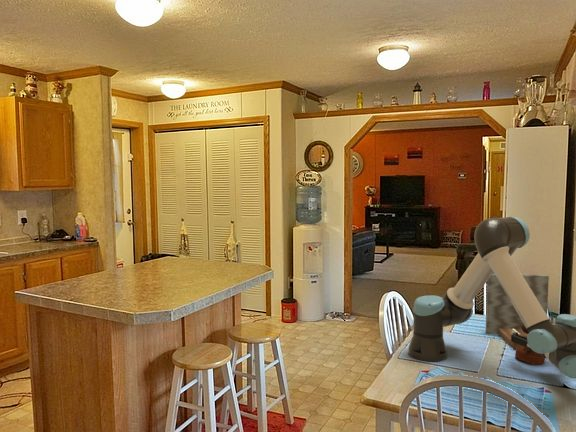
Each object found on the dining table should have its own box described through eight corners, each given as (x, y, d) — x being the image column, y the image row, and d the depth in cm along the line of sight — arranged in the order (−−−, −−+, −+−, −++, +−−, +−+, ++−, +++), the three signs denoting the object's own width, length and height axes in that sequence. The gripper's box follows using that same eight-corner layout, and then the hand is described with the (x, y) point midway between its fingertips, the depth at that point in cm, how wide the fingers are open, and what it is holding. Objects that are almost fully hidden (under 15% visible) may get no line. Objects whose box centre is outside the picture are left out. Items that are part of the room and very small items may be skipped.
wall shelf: (501, 349, 197) (503, 283, 195) (485, 332, 219) (487, 273, 217) (566, 352, 194) (570, 285, 192) (544, 335, 216) (546, 275, 214)
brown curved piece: (544, 368, 177) (546, 316, 175) (512, 362, 183) (514, 312, 181) (548, 356, 190) (550, 307, 188) (518, 350, 196) (520, 303, 194)
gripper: (517, 360, 167) (497, 340, 188) (591, 363, 164) (563, 343, 185) (518, 339, 167) (498, 322, 188) (592, 343, 164) (564, 324, 185)
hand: (530, 332), depth 187 cm, fingers open, 13 cm apart
